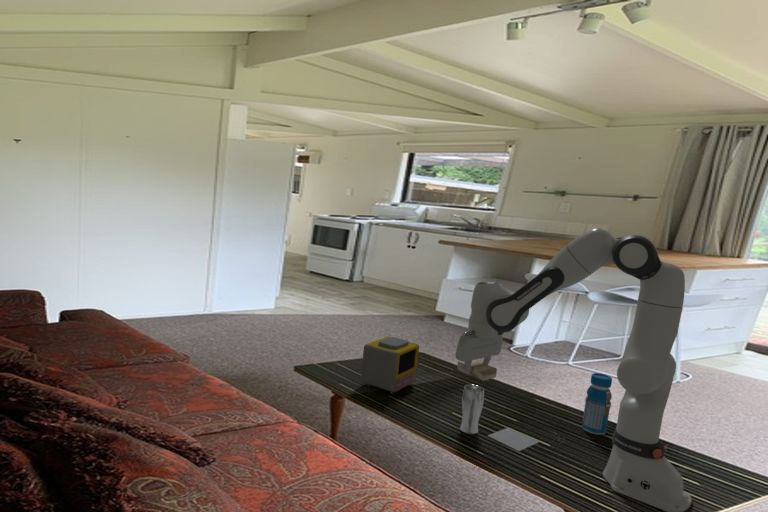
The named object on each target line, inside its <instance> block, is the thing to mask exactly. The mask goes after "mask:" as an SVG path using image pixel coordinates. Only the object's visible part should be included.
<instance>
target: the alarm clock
mask: <svg viewBox="0 0 768 512" xmlns="http://www.w3.org/2000/svg"><path fill="white" fill-rule="evenodd" d="M419 352H420V345H419V344H418V343H414V342H411V341H409V340H407V339H403V338H399V337H394V336H386V337H384V338H380V339H376V340H374V341H372V342H368V343H365V344H364V346H363V352H362V360H361V361H362V363H361V371H360V382H361V383H363V384H367V386H368V387H371V386H373V387H374V388H375V387H376V388H378V389H381V390H385V391H388V392H390V394H391V395H392V394H394V393H396V392H398V391H400V390H401V389H404V388H405V387H407V386H409V385H410V384H413V383H414V382H416V378H417V372H418V371H417V369H418V362H419Z"/></svg>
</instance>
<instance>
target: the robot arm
mask: <svg viewBox="0 0 768 512" xmlns="http://www.w3.org/2000/svg"><path fill="white" fill-rule="evenodd" d="M657 249H658V248H657V247H656V245H655V243H654V242H653V241H652V240H651V239H650V238H648V236H645V235H642V234H639V233H638V234H629V235H626V236H622V237H617V238H615V237H614V236H613V234H611V233H610V232H608V231H607V230H605V229H602V228H600V227H597V228H596V227H595V228H592V229H589V230H588V231H586V232H585V233H582V234H581V235H579V236H577V237H576V238H574V239H573V240H571V241H570V242H569V243H568V244H566V245H564V247H562V248H561V249H560V250H559V251H558V252H557V253H556V254H555V255H554V256H553V257H552V258H551V259H550V260H549V261H548V263H547V264H546V265H545V266H544V267H543V269H541V270H540V271H539V273H538V274H537V275H536V276H535V277H533V278H532V279H531V280H530V281H528V282H527V283H525V284H523V286H522V287H520V288H519V289H518V290H516V291H515V292H511V291H510V290H508V289H506V288H505V287H504V286H502V284H501V283H500V282H498V281H495V280H486V281H484V280H483V281H480V282H478V283H477V284H475V286H474V288H473V291H472V297H471V303H470V310H471V313H470V315H469V319H468V326H467V331H464V332H463V333H462V335H460V337H459V339H458V342H457V345H456V351H455V359H456V360H457V361H463V362H464V363H465V366H466V370H465V371H466V372H467V373H472V372H473V371H472V370H473V367H471V363H472V360H475V361H477V360H479V359H480V360H481V359H483V361H482V363H483V364H486V365H489V364H490V362H491V360H492V357H494V356H498V355H500V353H501V351H502V349H503V348H502V347H503V341H504V338H503V335H504V334H505V333H508V332H512V331H513V330H514V329H515V328H516V327H517V326H519V325H520V324H522V323H523V322H525V321H526V320H527V318H528V317H529V314H530V309H532V307H534V306H535V305H536V304H538V303H540V302H541V301H542V300H543V299H545V298H546V297H548V296H550V295H551V294H553V293H556V292H558V291H561V290H564V289H567V288H569V287H571V286H575V285H576V284H578V283H580V282H582V281H583V280H585V279H587V278H588V277H589V276H591V275H592V274H594V273H595V272H596V271H598V270H599V269H600V268H602V267H604V266H605V265H612V264H613V265H615V266H616V268H617V269H619V270H620V271H621V272H623V273H625V274H626V275H629V276H631V277H633V278H635V279H637V280H639V283H640V284H639V292H638V296H637V297H638V298H637V302H636V303H637V304H636V309H635V313H634V314H635V315H634V319H633V324H632V328H631V332H630V335H629V337H628V339H627V342H626V345H625V348H624V350H623V353H622V354H623V355H622V357H621V361H620V363H619V364H618V367H617V370H616V378H617V380H618V382H619V385H621V387H622V388H624V394H623V397H622V399H621V401H620V402H619V409H618V414H617V415H618V416H617V421H616V427H615V428H614V430H613V434H612V438H611V439H612V440H611V447H612V448H611V452H610V455H609V458H608V461H607V464H606V465H605V468H604V469H603V471H602V476H603V478H604V479H605V481H606V482H607V483H609V484H610V487H611V490H613V491H615V492H616V493H618V494H621V495H624V496H627V497H629V498H632V499H634V500H637V501H638V502H642V503H644V504H647V505H648V506H649V505H650V506H651V507H655V508H656V509H657V508H658V509H660V510H663V512H686V511H687V510H688V509H689V508H690V507H691V505H692V495H690V494H689V493H688V492H687V491H684V480H683V479H684V478H683V476H682V475H681V473H680V472H679V471H678V470H677V469H676V467H674V466H673V464H672V463H671V462H670V461H669V460H668V459H667V458H666V456H665V454H666V451H667V447H668V445H667V444H665V445H664V444H663V443H662V441H660V436H661V435H660V434H661V429H662V423H663V417H664V414H665V409H666V406H667V403H668V399H669V396H670V392H671V389H672V385H673V381H674V377H675V374H676V369H677V362H676V359H675V357H674V356H673V355H672V354H671V351H672V349H673V346H674V343H675V341H676V338H677V336H678V333H679V327H680V323H681V319H682V312H683V306H684V302H685V289H686V288H685V287H686V285H685V282H686V280H685V273H684V272H683V269H681V268H680V267H679V266H677V265H675V264H674V263H673V264H672V263H668V262H663V261H661V260H660V257H659V253H658V250H657Z"/></svg>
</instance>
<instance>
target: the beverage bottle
mask: <svg viewBox="0 0 768 512" xmlns="http://www.w3.org/2000/svg"><path fill="white" fill-rule="evenodd" d="M612 381H613V379H612V377H611V376H609V375H608V374H604V373H598V372H593V373H592V374H591V377H590V384H591V385H589V386H588V388H587V389H586V394H587V395H586V397H585V398H584V402H585V403H584V410H583V417H582V423H581V428H582V429H583V430H584V431H585V432H588V433H589V434H594V435H597V436H602V435H605V434H606V433H607V428H608V421H609V415H610V411H611V410H610V409H611V408H612V407H611V406H612V402H611V400H612V397H613V396H612V393H611V390H610V388H611V387H612V383H613V382H612Z"/></svg>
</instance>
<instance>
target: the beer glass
mask: <svg viewBox="0 0 768 512" xmlns="http://www.w3.org/2000/svg"><path fill="white" fill-rule="evenodd" d="M463 387H464V388H463V393H462V397H461V412H462V416H461V424H460V427H459V429H460V431H461V432H463V433H464V434H469V435H476V434H478V433H479V421H480V418H481V417H480V416H481V414H482V411H483V406H484V399H485V389H484V387H483V386H479V385H476V384H466V385H464V386H463Z"/></svg>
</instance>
